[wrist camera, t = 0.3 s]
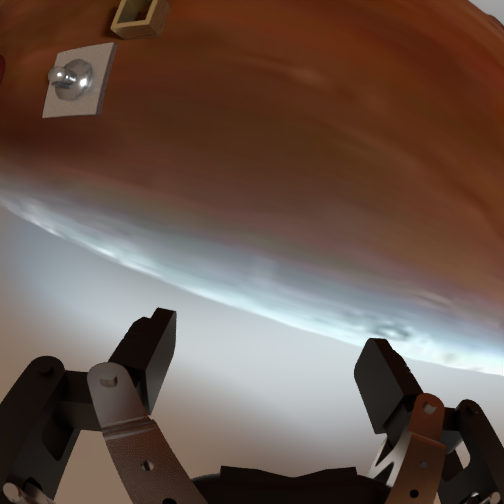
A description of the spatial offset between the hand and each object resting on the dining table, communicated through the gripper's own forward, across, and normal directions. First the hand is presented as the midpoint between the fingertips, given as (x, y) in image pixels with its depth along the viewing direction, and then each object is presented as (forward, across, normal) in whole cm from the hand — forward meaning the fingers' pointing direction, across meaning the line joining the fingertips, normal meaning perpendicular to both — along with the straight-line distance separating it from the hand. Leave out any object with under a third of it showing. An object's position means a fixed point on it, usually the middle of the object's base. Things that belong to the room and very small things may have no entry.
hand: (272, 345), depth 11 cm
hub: (+29, +22, -28) cm, 45 cm away
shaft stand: (+28, +32, -18) cm, 46 cm away
